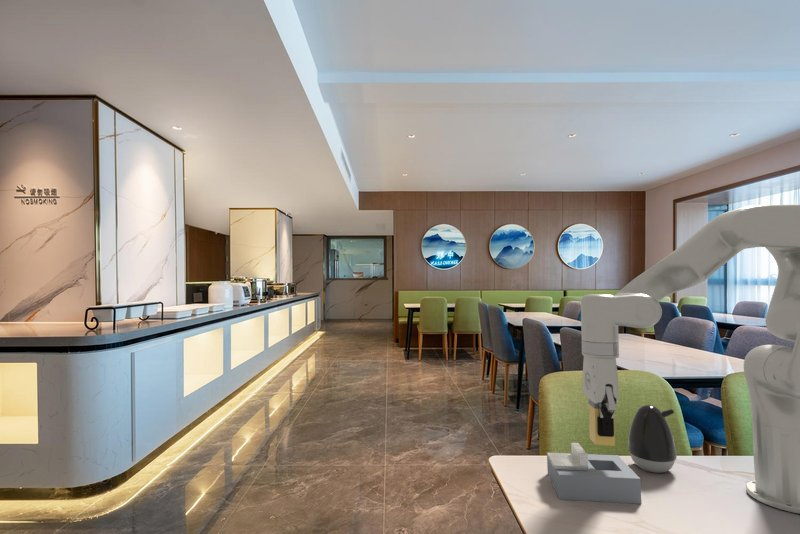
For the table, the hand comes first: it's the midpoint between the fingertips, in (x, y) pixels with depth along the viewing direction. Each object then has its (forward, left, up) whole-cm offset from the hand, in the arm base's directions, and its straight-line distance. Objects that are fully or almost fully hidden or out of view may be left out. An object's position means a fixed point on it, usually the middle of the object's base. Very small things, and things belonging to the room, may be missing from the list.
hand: (602, 431), depth 92 cm
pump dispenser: (-15, -12, -13) cm, 23 cm away
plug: (0, 0, -2) cm, 2 cm away
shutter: (+8, 0, -7) cm, 11 cm away
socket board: (+3, 0, -12) cm, 13 cm away
